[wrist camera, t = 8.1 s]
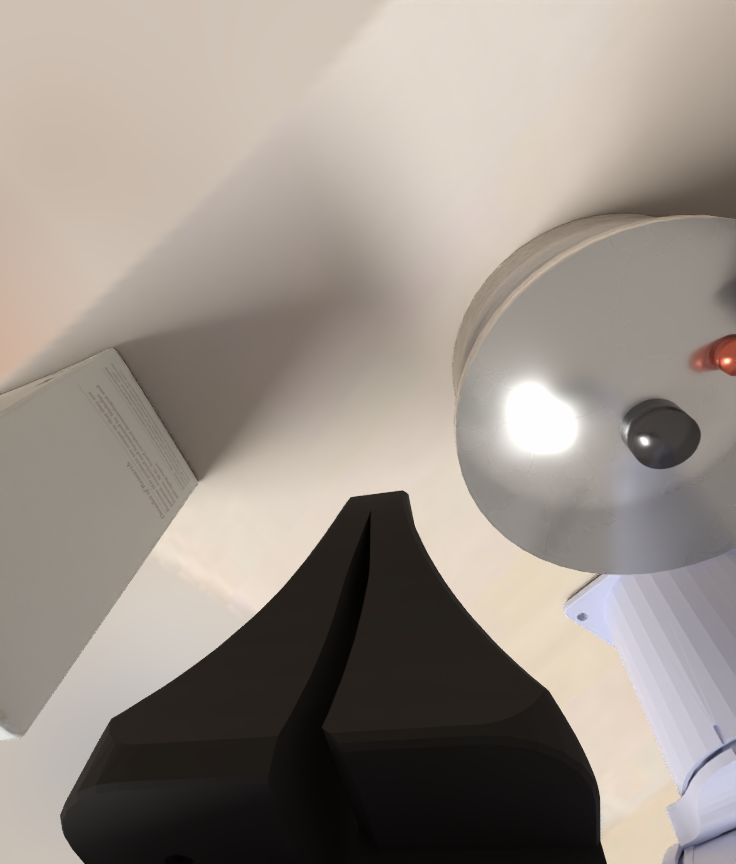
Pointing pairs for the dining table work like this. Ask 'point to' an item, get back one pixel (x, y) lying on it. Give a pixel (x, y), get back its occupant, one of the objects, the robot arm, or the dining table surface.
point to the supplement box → (74, 518)
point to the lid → (611, 402)
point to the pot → (525, 275)
